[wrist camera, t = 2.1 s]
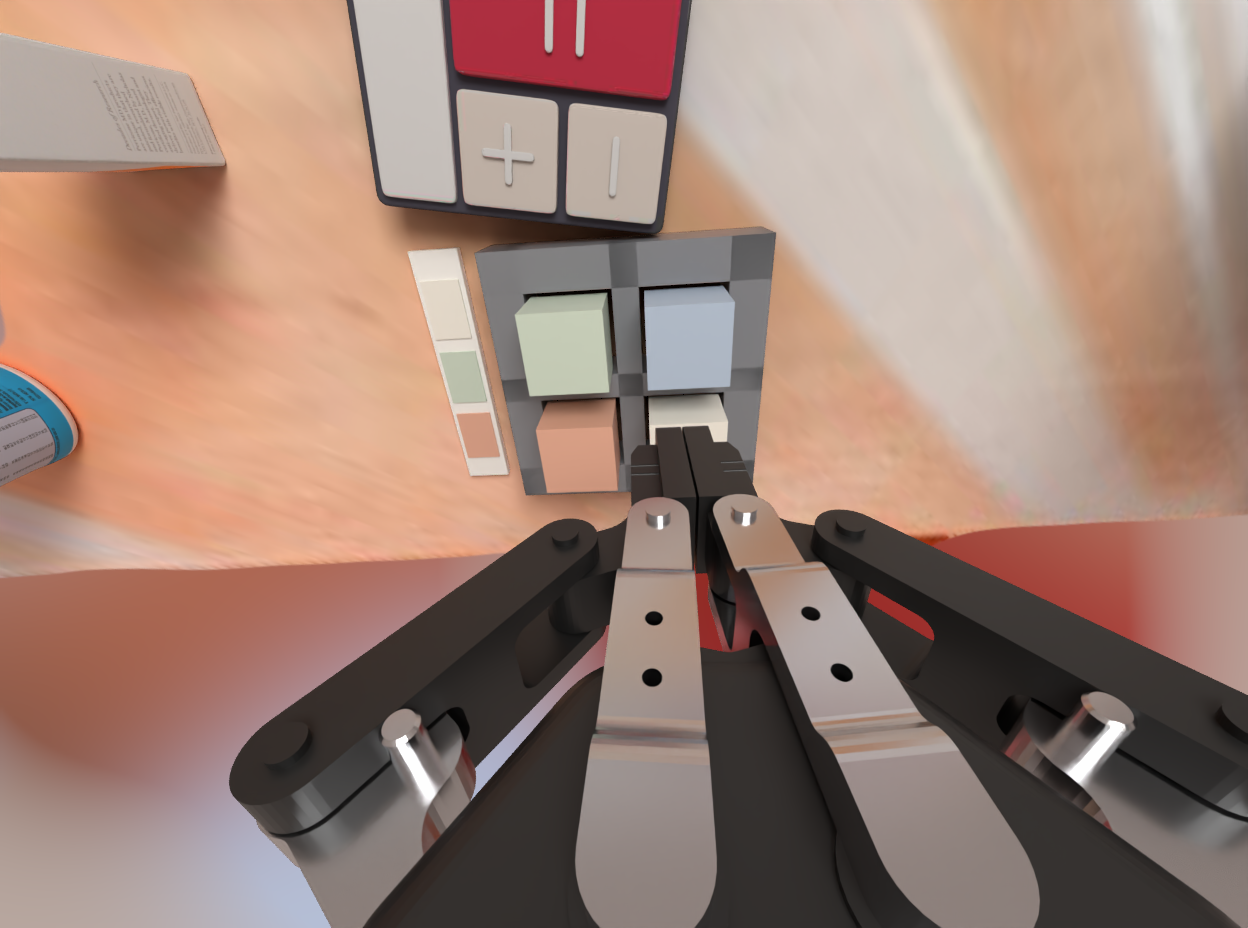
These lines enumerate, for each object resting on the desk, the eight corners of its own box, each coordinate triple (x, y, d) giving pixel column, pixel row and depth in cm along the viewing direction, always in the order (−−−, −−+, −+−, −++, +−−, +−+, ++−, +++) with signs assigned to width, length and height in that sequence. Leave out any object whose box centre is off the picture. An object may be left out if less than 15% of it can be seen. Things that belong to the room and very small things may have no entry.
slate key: (722, 285, 26) (734, 301, 23) (719, 361, 29) (730, 386, 25) (644, 290, 26) (644, 307, 23) (647, 365, 29) (647, 390, 25)
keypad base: (761, 226, 27) (776, 232, 24) (742, 461, 36) (752, 487, 33) (492, 244, 28) (474, 253, 25) (535, 469, 37) (525, 495, 34)
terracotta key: (615, 398, 30) (612, 426, 27) (620, 457, 32) (617, 490, 29) (547, 401, 30) (535, 430, 27) (557, 459, 33) (547, 493, 29)
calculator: (663, 237, 25) (370, 206, 24) (657, 228, 28) (403, 201, 27) (702, -61, 19) (317, -119, 18) (687, -24, 23) (367, -70, 22)
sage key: (607, 292, 27) (602, 309, 23) (613, 366, 29) (609, 392, 26) (530, 297, 27) (514, 314, 23) (542, 370, 29) (529, 396, 26)
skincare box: (132, 174, 27) (-178, 174, 17) (84, 80, 25) (-308, 12, 15) (232, 168, 27) (-21, 163, 16) (193, 71, 24) (-129, -4, 14)
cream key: (718, 393, 30) (728, 421, 26) (715, 453, 32) (724, 486, 28) (648, 396, 30) (649, 425, 26) (650, 456, 32) (651, 489, 29)
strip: (459, 247, 28) (455, 248, 28) (510, 470, 37) (507, 475, 36) (411, 250, 29) (406, 252, 28) (472, 471, 37) (469, 476, 36)
